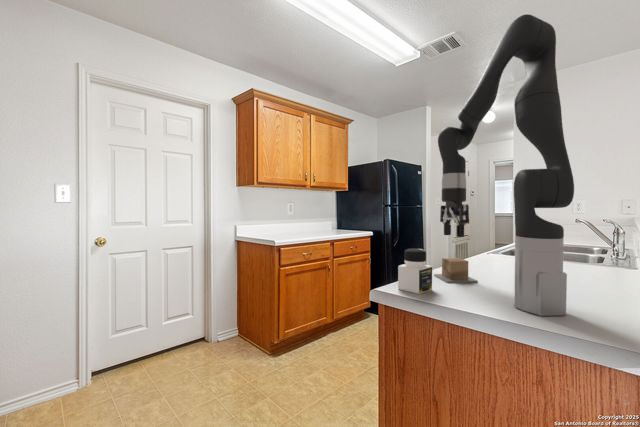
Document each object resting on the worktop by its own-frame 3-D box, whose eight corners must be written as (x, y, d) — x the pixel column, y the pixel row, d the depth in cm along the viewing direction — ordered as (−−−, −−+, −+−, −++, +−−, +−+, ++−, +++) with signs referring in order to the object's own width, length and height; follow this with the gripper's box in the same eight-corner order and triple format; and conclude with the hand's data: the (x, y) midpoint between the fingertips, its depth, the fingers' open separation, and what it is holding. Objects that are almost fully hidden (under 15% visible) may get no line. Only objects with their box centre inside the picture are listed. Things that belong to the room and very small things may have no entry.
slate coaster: (477, 282, 96) (477, 280, 96) (447, 282, 95) (447, 281, 95) (461, 275, 106) (461, 273, 106) (434, 275, 105) (434, 274, 105)
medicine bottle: (419, 294, 83) (419, 251, 83) (397, 289, 88) (397, 248, 88) (432, 289, 88) (432, 249, 87) (410, 285, 93) (411, 246, 93)
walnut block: (468, 279, 98) (468, 261, 98) (450, 279, 98) (450, 261, 97) (458, 275, 104) (459, 257, 104) (441, 275, 104) (442, 258, 103)
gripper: (477, 185, 93) (476, 237, 93) (453, 189, 107) (453, 234, 107) (453, 185, 93) (453, 237, 93) (433, 189, 107) (433, 234, 107)
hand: (453, 236), depth 100 cm, fingers open, 8 cm apart
